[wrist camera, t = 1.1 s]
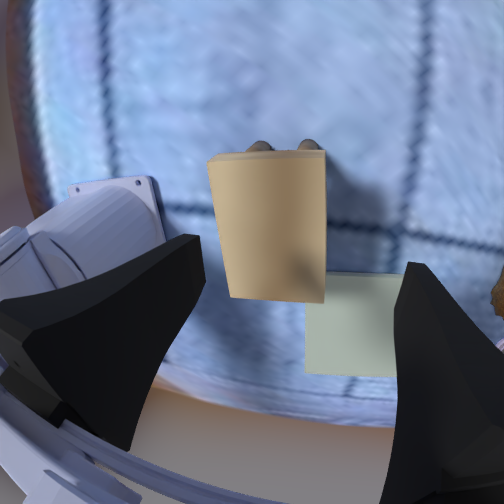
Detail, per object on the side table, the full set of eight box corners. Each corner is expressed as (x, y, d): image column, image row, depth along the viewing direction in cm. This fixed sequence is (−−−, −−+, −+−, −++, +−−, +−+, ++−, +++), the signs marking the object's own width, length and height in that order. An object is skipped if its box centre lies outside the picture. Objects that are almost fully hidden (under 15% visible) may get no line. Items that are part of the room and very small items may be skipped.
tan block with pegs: (254, 245, 23) (230, 297, 18) (241, 137, 19) (206, 162, 14) (328, 248, 22) (324, 303, 17) (327, 134, 18) (324, 158, 13)
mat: (305, 369, 29) (304, 372, 29) (305, 270, 23) (304, 274, 23) (402, 373, 27) (403, 376, 26) (433, 275, 20) (435, 279, 20)
